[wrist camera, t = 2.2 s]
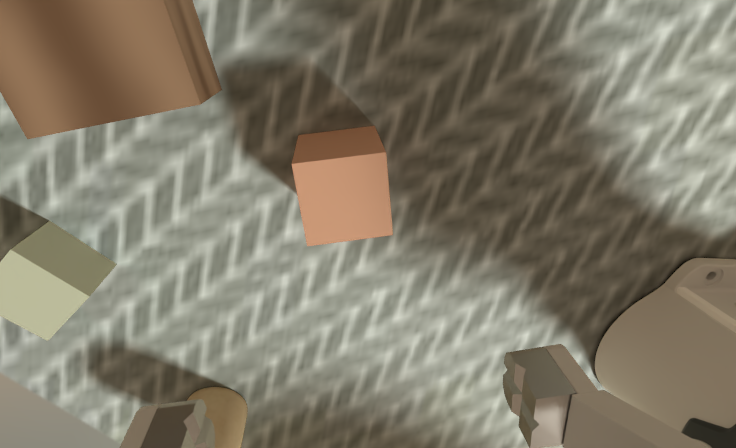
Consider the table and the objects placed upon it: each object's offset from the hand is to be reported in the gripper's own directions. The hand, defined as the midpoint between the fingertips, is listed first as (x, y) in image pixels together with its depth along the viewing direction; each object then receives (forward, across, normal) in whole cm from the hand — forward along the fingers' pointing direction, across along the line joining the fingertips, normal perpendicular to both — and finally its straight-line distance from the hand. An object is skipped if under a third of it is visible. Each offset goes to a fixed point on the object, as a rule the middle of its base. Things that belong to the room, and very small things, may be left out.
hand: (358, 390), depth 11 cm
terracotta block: (+19, 0, 0) cm, 19 cm away
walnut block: (+19, +11, -10) cm, 24 cm away
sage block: (+19, +20, +5) cm, 28 cm away
